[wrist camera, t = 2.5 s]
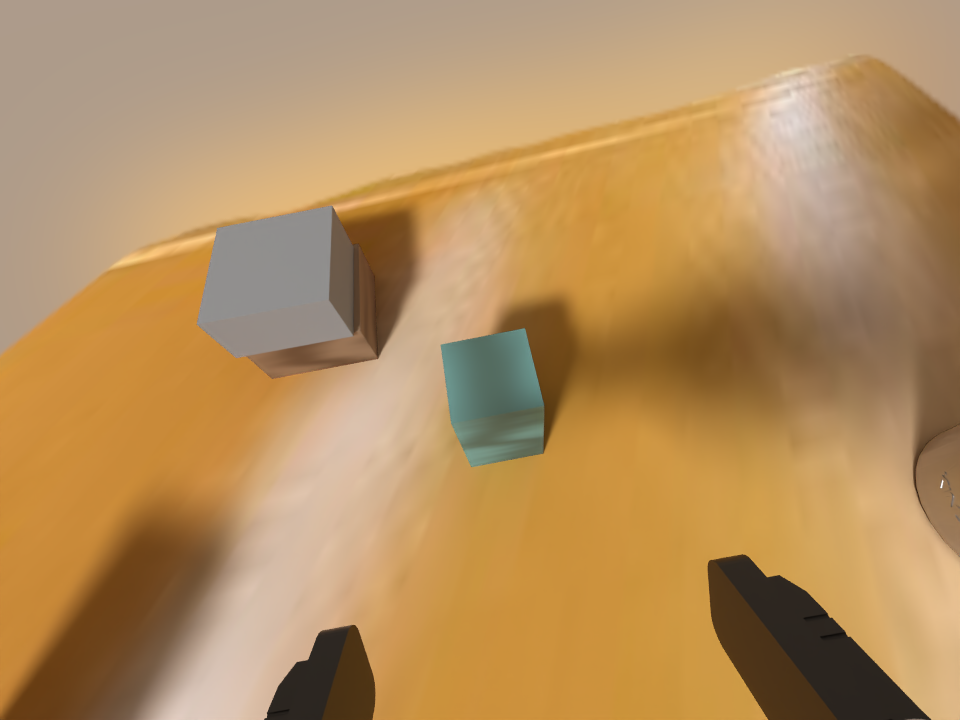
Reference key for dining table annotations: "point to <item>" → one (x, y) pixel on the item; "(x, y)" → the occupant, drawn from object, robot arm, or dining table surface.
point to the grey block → (280, 283)
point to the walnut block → (334, 350)
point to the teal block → (494, 397)
